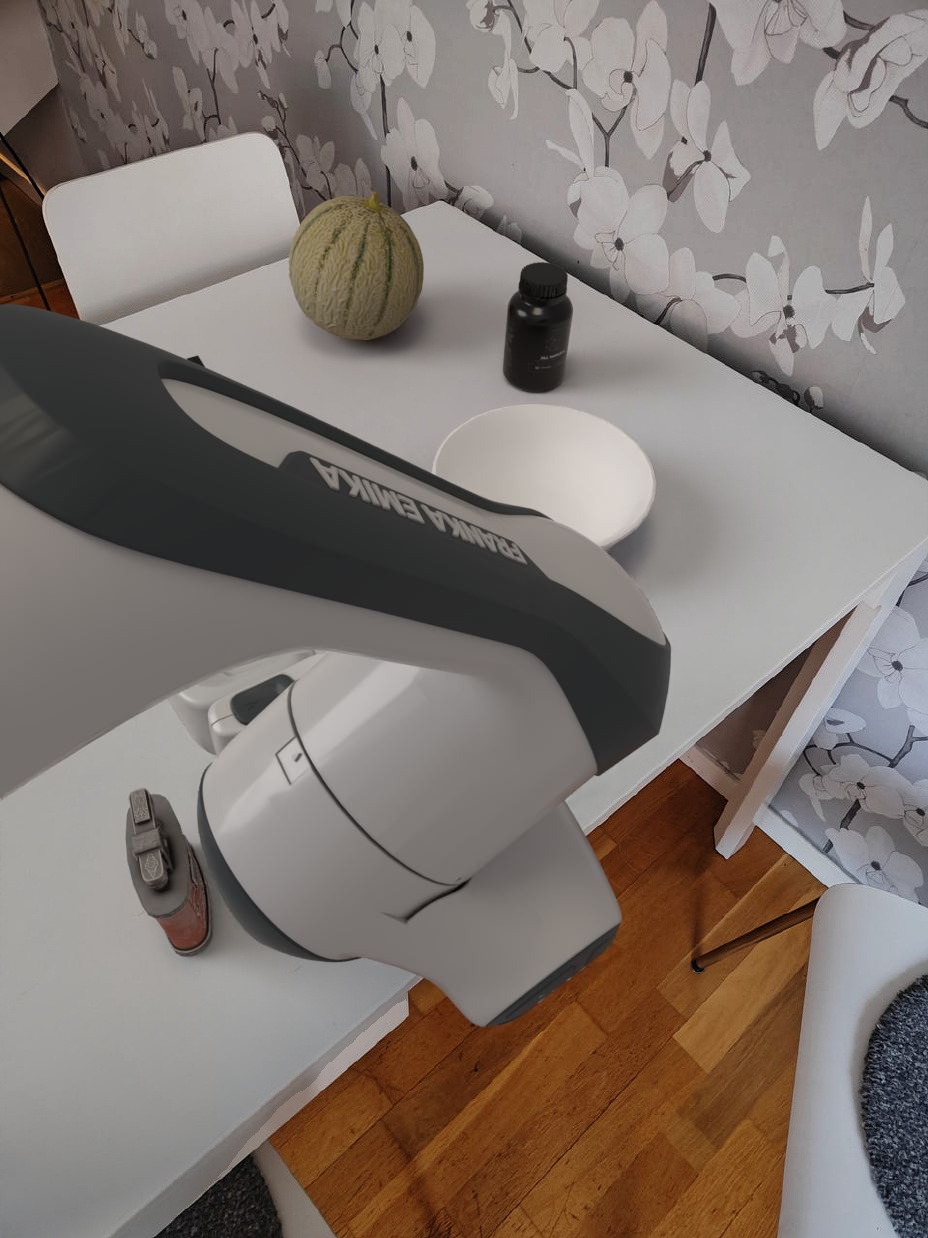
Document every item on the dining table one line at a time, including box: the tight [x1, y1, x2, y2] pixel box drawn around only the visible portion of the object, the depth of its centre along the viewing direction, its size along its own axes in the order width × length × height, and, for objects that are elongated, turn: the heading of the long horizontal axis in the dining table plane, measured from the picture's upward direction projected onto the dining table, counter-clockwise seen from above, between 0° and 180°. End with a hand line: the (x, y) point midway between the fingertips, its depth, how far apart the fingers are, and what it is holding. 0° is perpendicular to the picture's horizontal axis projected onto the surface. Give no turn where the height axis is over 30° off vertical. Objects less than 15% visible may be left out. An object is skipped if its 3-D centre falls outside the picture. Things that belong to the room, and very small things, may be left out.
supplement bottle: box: [502, 261, 574, 393], centre depth 92 cm, size 7×7×12 cm
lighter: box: [125, 787, 214, 958], centre depth 55 cm, size 8×3×10 cm, turn 22°
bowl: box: [431, 403, 657, 552], centre depth 79 cm, size 20×20×6 cm
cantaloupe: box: [288, 190, 425, 341], centre depth 95 cm, size 15×15×15 cm
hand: (288, 526), depth 52 cm, fingers open, 8 cm apart
